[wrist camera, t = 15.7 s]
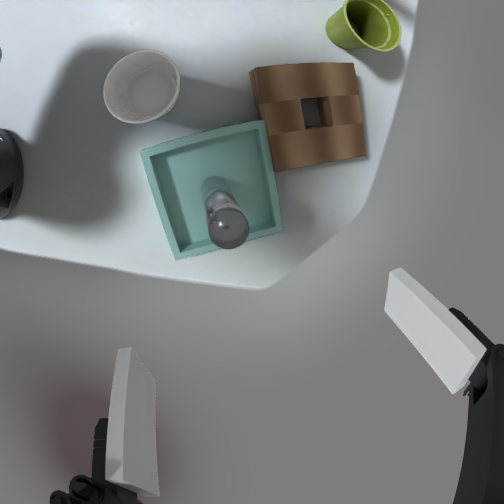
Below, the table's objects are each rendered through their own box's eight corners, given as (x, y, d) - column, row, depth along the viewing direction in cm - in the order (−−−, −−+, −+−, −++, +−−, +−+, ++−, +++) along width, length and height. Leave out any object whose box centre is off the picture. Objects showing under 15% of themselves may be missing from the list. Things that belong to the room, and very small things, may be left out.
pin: (204, 204, 38) (214, 253, 25) (198, 180, 36) (204, 217, 23) (229, 197, 38) (253, 243, 25) (223, 173, 36) (245, 206, 23)
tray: (176, 251, 41) (175, 260, 38) (143, 149, 33) (139, 151, 30) (277, 223, 42) (283, 231, 40) (258, 119, 35) (264, 119, 32)
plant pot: (376, 47, 31) (411, 40, 24) (338, 67, 33) (371, 60, 25) (345, 2, 27) (376, -14, 19) (303, 19, 28) (330, 0, 21)
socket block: (267, 167, 38) (275, 172, 34) (249, 72, 31) (255, 67, 28) (351, 151, 39) (365, 155, 36) (339, 66, 32) (353, 62, 29)
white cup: (186, 116, 32) (184, 114, 24) (128, 128, 31) (108, 132, 23) (179, 62, 29) (176, 42, 20) (121, 75, 27) (99, 62, 19)
